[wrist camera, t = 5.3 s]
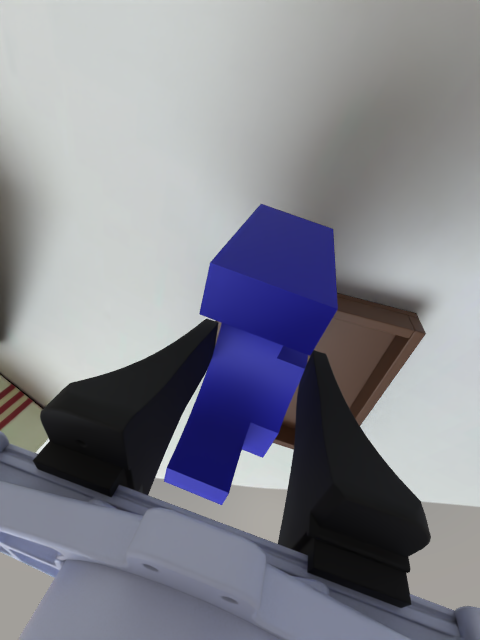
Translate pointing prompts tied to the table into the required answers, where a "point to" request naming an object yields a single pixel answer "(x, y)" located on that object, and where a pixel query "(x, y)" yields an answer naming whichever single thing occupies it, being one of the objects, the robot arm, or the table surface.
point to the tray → (361, 355)
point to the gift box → (20, 418)
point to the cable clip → (255, 343)
